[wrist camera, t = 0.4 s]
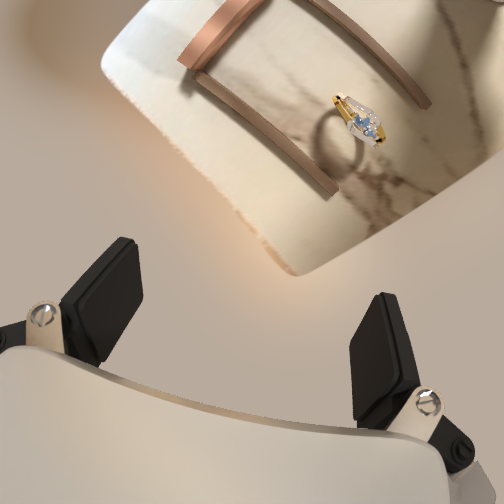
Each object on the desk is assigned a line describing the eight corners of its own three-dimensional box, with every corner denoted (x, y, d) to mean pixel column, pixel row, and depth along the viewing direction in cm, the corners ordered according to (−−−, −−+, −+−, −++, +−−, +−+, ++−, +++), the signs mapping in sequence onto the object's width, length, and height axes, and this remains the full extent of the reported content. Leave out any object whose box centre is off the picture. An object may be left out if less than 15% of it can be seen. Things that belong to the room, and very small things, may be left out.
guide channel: (275, -31, 21) (272, -43, 18) (427, 102, 27) (441, 105, 23) (184, 69, 30) (170, 68, 26) (331, 191, 35) (333, 204, 32)
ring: (379, 132, 30) (399, 146, 23) (359, 146, 32) (373, 163, 25) (344, 85, 28) (356, 85, 21) (323, 100, 29) (329, 104, 23)
